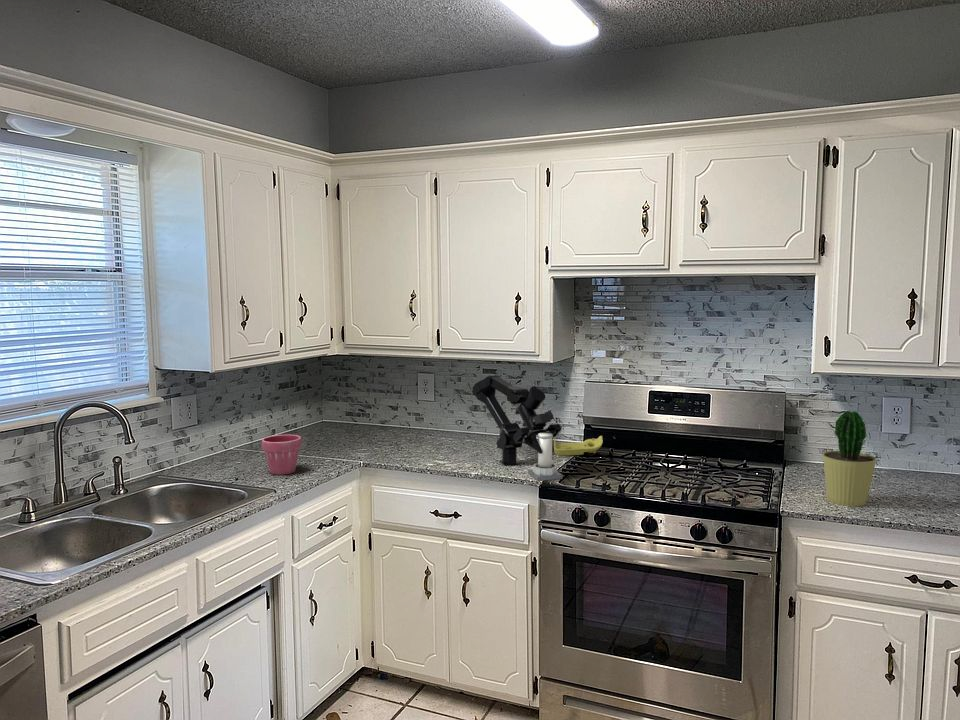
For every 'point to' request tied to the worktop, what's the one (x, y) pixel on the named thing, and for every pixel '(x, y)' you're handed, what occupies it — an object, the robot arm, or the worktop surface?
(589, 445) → the plastic component
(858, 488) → the potted cactus
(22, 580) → the worktop surface
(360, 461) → the worktop surface
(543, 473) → the duct collar
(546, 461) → the white cylinder
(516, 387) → the robot arm
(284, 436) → the plant pot
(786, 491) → the worktop surface
